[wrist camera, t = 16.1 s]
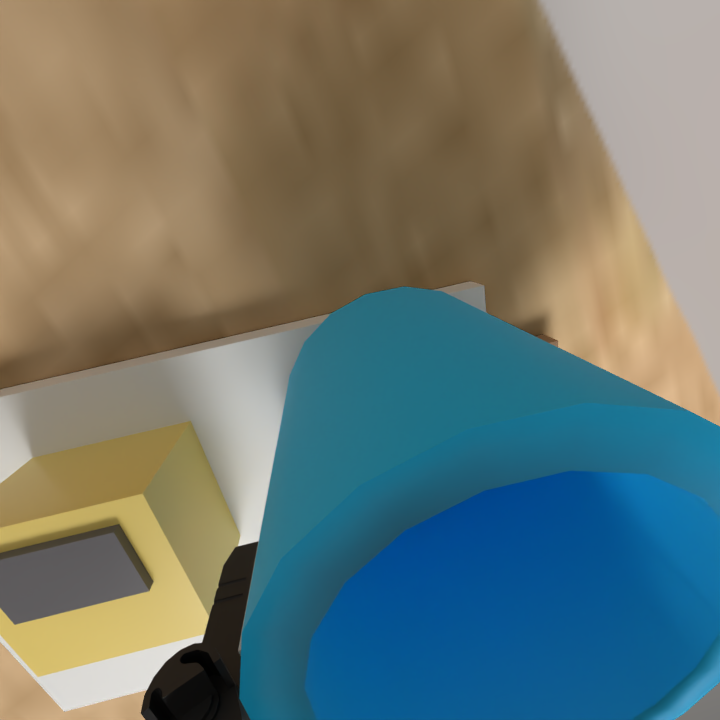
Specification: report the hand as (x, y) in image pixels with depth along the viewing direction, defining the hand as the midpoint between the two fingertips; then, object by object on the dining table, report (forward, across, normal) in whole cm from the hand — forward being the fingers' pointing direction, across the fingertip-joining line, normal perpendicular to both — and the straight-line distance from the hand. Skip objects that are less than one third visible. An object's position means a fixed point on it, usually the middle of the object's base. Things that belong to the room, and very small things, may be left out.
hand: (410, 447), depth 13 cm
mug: (0, 0, 0) cm, 1 cm away
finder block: (+2, -11, -1) cm, 11 cm away
